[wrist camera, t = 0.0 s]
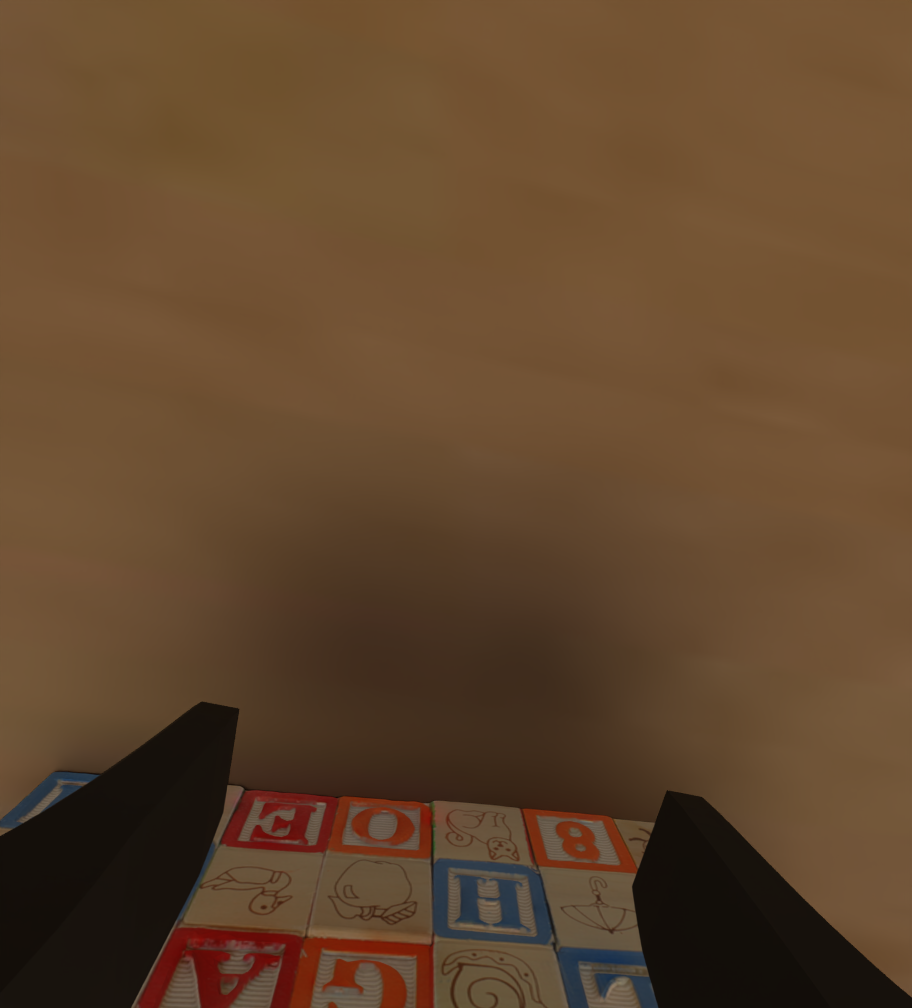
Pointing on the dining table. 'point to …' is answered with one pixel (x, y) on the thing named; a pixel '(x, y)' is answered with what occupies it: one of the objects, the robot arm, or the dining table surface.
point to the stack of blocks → (399, 906)
